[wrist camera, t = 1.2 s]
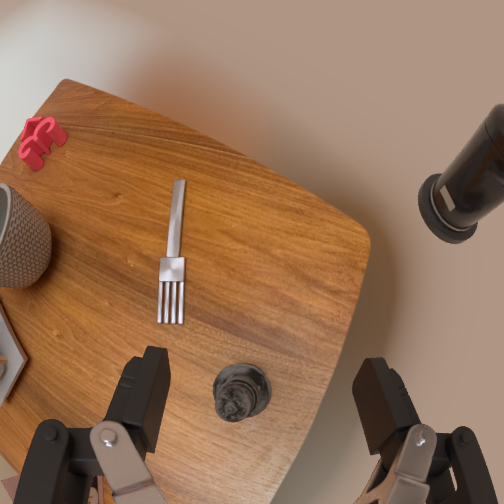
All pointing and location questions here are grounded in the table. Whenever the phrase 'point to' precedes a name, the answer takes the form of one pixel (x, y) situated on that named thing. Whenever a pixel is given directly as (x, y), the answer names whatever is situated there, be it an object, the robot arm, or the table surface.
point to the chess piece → (241, 392)
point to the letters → (39, 140)
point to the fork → (173, 261)
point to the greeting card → (94, 497)
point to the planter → (22, 240)
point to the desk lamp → (9, 357)
